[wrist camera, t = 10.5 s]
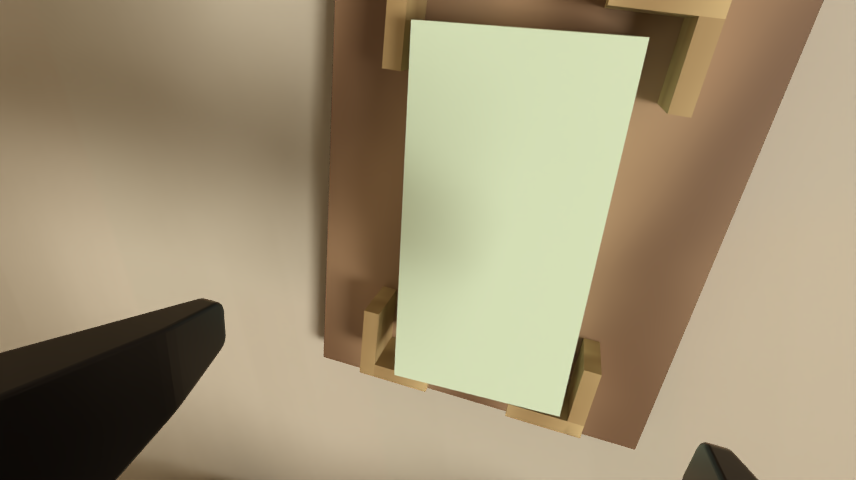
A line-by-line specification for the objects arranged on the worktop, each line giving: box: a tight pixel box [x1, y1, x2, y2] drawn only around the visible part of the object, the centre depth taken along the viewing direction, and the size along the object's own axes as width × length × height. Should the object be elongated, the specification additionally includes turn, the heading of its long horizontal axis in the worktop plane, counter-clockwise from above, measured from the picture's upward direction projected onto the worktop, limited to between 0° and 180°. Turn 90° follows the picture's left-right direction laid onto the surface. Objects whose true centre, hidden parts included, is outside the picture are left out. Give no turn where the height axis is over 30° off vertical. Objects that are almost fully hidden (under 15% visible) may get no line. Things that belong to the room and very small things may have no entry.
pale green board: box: [394, 20, 650, 417], centre depth 16 cm, size 6×12×3 cm, turn 176°
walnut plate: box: [324, 0, 824, 449], centre depth 17 cm, size 14×18×3 cm
